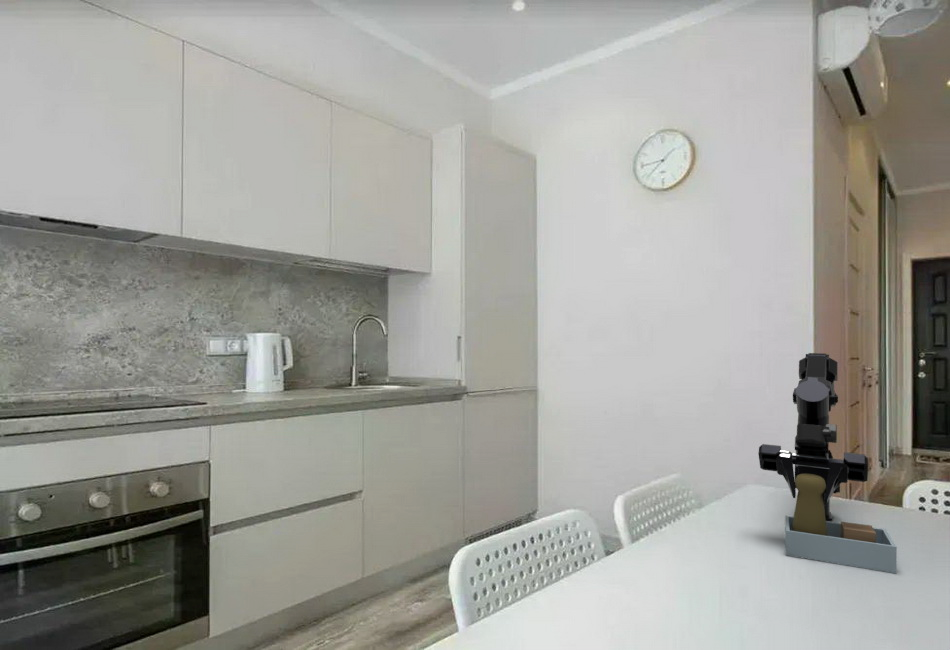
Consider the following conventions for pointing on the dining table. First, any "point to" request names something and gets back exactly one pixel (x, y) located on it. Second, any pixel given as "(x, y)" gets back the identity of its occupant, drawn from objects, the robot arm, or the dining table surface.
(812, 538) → the tote
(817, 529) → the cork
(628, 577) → the dining table surface
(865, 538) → the walnut cube
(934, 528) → the dining table surface
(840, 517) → the dining table surface
